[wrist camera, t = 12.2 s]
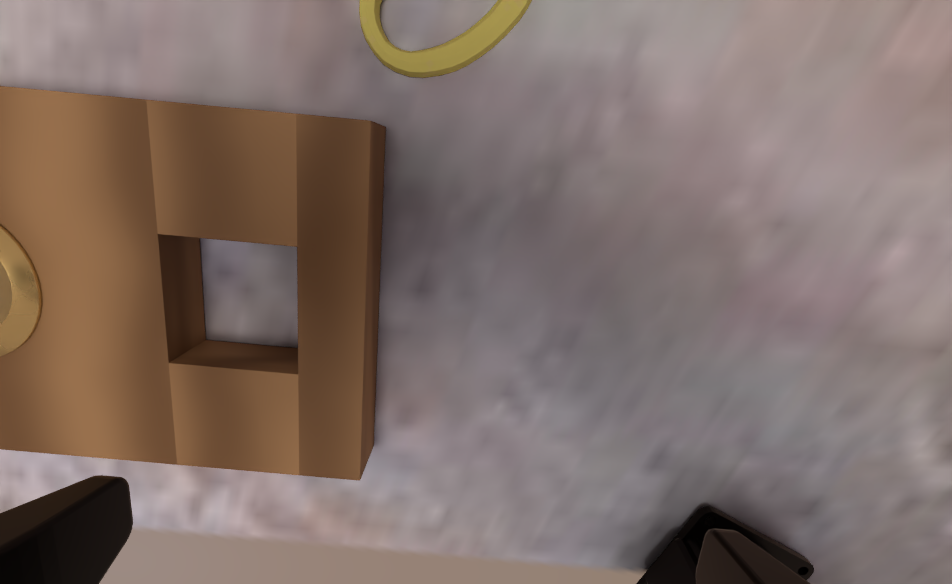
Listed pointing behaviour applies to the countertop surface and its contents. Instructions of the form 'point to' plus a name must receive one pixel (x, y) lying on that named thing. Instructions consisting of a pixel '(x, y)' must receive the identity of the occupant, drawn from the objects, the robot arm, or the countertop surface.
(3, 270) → the ivory candle
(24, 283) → the brass disc
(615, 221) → the countertop surface
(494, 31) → the key
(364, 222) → the walnut holder
